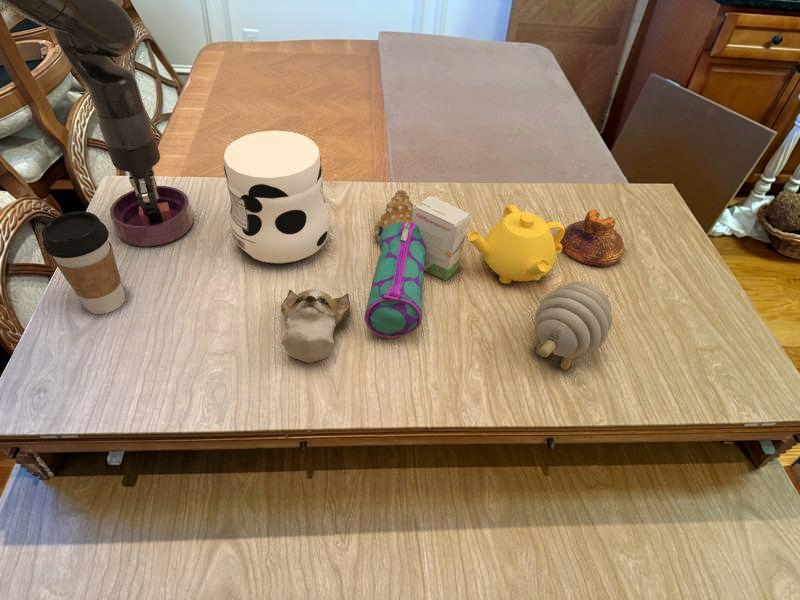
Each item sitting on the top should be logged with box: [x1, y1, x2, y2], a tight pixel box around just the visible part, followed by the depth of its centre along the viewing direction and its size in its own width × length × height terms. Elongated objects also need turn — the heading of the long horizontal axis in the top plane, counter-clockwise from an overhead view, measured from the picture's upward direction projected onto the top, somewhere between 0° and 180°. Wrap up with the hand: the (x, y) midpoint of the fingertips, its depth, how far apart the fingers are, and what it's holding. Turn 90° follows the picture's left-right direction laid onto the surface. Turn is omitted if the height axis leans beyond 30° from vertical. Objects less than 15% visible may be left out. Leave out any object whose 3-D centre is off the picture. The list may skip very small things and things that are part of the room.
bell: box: [560, 208, 625, 267], centre depth 99 cm, size 12×12×7 cm
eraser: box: [139, 202, 172, 226], centre depth 99 cm, size 5×3×3 cm, turn 112°
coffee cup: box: [41, 210, 126, 315], centre depth 80 cm, size 8×8×15 cm
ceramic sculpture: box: [280, 289, 351, 363], centre depth 80 cm, size 11×9×15 cm
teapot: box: [467, 204, 566, 285], centre depth 92 cm, size 14×14×11 cm
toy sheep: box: [534, 281, 613, 370], centre depth 79 cm, size 11×17×11 cm, turn 145°
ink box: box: [411, 194, 471, 282], centre depth 92 cm, size 9×5×12 cm, turn 55°
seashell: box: [374, 189, 414, 244], centre depth 101 cm, size 9×8×10 cm
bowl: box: [109, 185, 194, 247], centre depth 98 cm, size 13×13×4 cm
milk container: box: [223, 130, 331, 265], centre depth 92 cm, size 17×17×18 cm
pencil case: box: [364, 222, 426, 339], centre depth 86 cm, size 21×9×10 cm, turn 175°
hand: (157, 221), depth 100 cm, fingers closed on eraser, 2 cm apart
